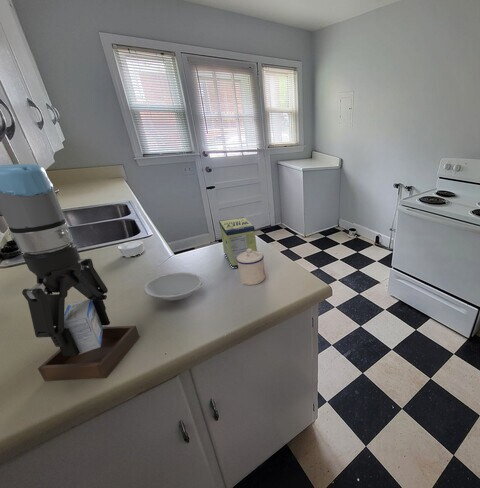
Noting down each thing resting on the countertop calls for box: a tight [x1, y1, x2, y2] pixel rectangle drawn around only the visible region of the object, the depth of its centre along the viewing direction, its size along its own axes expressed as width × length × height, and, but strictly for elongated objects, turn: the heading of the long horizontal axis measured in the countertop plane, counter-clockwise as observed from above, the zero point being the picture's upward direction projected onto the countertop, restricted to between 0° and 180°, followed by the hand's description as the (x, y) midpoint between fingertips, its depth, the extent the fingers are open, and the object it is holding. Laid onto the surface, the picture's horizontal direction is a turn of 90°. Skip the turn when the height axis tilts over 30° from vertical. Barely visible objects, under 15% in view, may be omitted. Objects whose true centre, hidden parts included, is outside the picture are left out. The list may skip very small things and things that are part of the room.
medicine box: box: [64, 299, 104, 355], centre depth 60 cm, size 8×4×9 cm, turn 34°
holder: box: [37, 325, 141, 382], centre depth 63 cm, size 13×13×4 cm
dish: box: [143, 272, 203, 302], centre depth 85 cm, size 18×14×5 cm
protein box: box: [218, 216, 258, 268], centre depth 108 cm, size 10×16×16 cm
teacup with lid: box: [236, 249, 266, 286], centre depth 95 cm, size 12×9×12 cm
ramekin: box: [117, 240, 145, 257], centre depth 115 cm, size 9×9×4 cm
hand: (88, 338), depth 61 cm, fingers closed on medicine box, 9 cm apart
